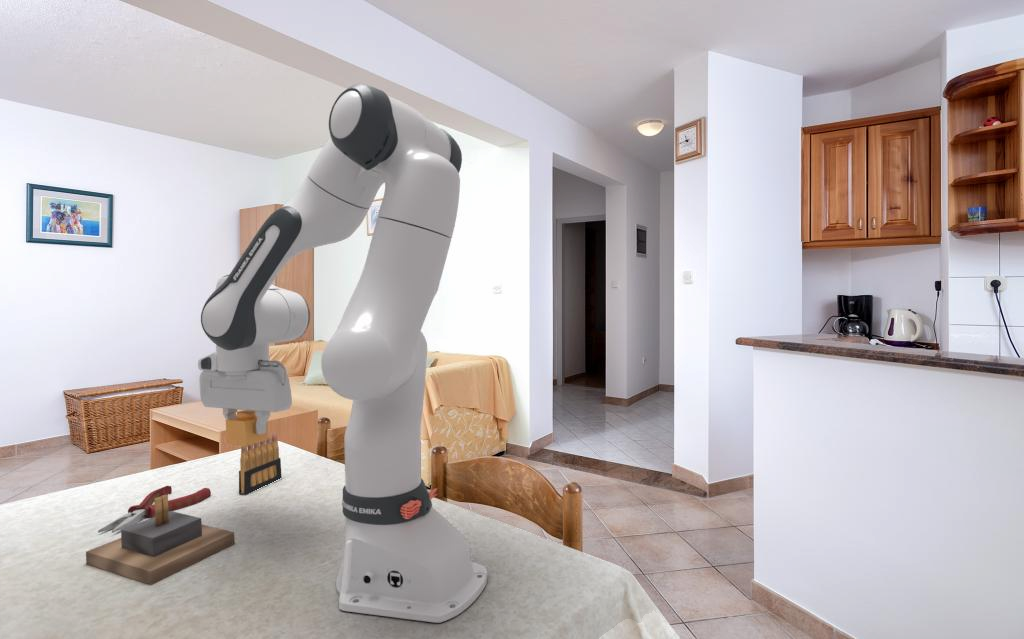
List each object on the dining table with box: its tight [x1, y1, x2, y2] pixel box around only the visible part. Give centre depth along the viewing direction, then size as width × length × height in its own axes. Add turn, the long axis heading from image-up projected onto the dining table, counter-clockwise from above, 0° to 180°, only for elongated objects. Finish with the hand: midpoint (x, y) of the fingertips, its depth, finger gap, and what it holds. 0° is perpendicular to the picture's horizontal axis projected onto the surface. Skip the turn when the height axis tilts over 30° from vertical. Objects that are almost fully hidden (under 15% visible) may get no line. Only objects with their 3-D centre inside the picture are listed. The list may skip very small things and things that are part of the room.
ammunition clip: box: [238, 428, 283, 496], centre depth 117 cm, size 11×2×12 cm, turn 161°
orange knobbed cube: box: [225, 410, 269, 447], centre depth 99 cm, size 5×5×6 cm
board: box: [85, 495, 235, 585], centre depth 86 cm, size 16×14×10 cm
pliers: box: [97, 485, 212, 534], centre depth 103 cm, size 12×20×3 cm, turn 172°
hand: (247, 432), depth 99 cm, fingers closed on orange knobbed cube, 5 cm apart
